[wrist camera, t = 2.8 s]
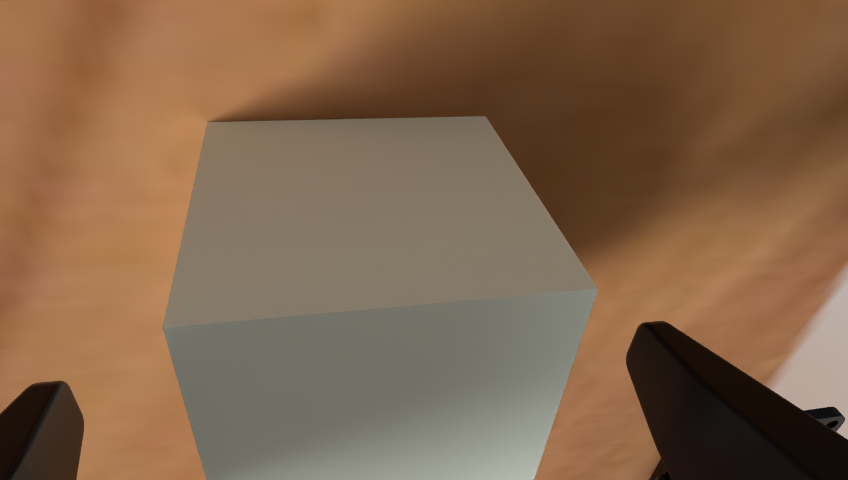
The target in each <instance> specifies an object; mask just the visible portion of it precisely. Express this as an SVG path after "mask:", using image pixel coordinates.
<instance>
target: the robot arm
mask: <svg viewBox="0 0 848 480" xmlns="http://www.w3.org/2000/svg"><path fill="white" fill-rule="evenodd" d="M626 364H627V369H628V372H629V374H630V377H631V380H632V383H633V385H634V388H635V391H636V394H637V396H638V399H639V402H640V405H641V407H642V410H643V413H644V416H645V418H646V421H647V424H648V427H649V429H650V432H651V435H652V437H653V440H654V442H655V445H656V447H657V450H658V452H659V454H660V456H661V458H662V460H661V461H660V463H659V465H658V467H657V469H656V470H655V472H654V474H653V476H652V477H651V479H650V480H848V440H847V439H846V438H844V437H843V436H841V435H840V434H838V433H837V432H836V431H837V430H838V428H840V426H841V425H842V424H843V422H844V421H845V417H843V415H842V414H841V413H840V412H839V411H838V410H837V409H836V408H835V407H827V408H819V409H813V410H805V411H803V410H801V409H800V408H798V407H796V406H795V405H794V404H792V403H790V402H789V401H787V400H786V399H784V398H783V397H781V396H780V395H778V394H777V393H775V392H774V391H772V390H770V389H769V388H767V387H766V386H764V385H763V384H761V383H760V382H758V381H757V380H755V379H753V378H752V377H750V376H749V375H747V374H746V373H744V372H743V371H741V370H740V369H738V368H737V367H735V366H733V365H732V364H730V363H729V362H727V361H726V360H724V359H723V358H721V357H720V356H718V355H717V354H715V353H713V352H712V351H710V350H709V349H707V348H706V347H704V346H703V345H701V344H700V343H698V342H696V341H695V340H693V339H692V338H690V337H689V336H687V335H686V334H684V333H683V332H681V331H680V330H678V329H676V328H675V327H673V326H672V325H670V324H669V323H667V322H664V321H654V322H644V323H642V324H641V325H639V326H638V328H637V330H636V333H635V335H634V337H633V340H632V342H631V345H630V347H629V349H628V352H627V356H626ZM83 433H84V420H83V415H82V413H81V411H80V408H79V406H78V404H77V402H76V400H75V398H74V395H73V393H72V391H71V389H70V387H69V385H68V384H67V383H66V382H64V381H52V382H41V383H35V384H32V385H31V386H29V387H28V388H26V389H25V390H24V391H23V392H22V393H21V394H20V395H19V396H18V397H17V398H16V399H15V400H14V401H13V402H12V403H11V404H10V405H9V406H8V407H7V408H6V409H5V410H4V411H3V412H2V413H1V414H0V480H76V479H77V472H78V465H79V459H80V452H81V446H82V439H83Z"/></svg>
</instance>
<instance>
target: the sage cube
mask: <svg viewBox="0 0 848 480" xmlns="http://www.w3.org/2000/svg"><path fill="white" fill-rule="evenodd" d="M597 291H598V288H597V286H596V284H595V283H594V281H593V280H592V278H591V277H590V275H589V274H588V272H587V271H586V269H585V268H584V266H583V265H582V263H581V261H580V260H579V258H578V257H577V255H576V254H575V252H574V251H573V249H572V248H571V246H570V245H569V243H568V242H567V240H566V239H565V237H564V235H563V234H562V232H561V231H560V229H559V228H558V226H557V225H556V223H555V222H554V220H553V219H552V217H551V216H550V214H549V212H548V211H547V209H546V208H545V206H544V205H543V203H542V202H541V200H540V199H539V197H538V196H537V194H536V193H535V191H534V190H533V188H532V186H531V185H530V183H529V182H528V180H527V179H526V177H525V176H524V174H523V173H522V171H521V170H520V168H519V167H518V165H517V163H516V162H515V160H514V159H513V157H512V156H511V154H510V153H509V151H508V150H507V148H506V147H505V145H504V144H503V142H502V141H501V139H500V137H499V136H498V134H497V133H496V131H495V130H494V128H493V127H492V125H491V124H490V122H489V121H488V119H487V118H486V116H468V117H421V118H374V119H328V120H281V121H234V122H207V126H206V131H205V135H204V140H203V145H202V149H201V154H200V158H199V163H198V168H197V172H196V177H195V181H194V186H193V191H192V195H191V200H190V204H189V209H188V213H187V218H186V223H185V227H184V232H183V236H182V241H181V246H180V250H179V255H178V259H177V264H176V269H175V273H174V278H173V282H172V287H171V292H170V296H169V301H168V305H167V310H166V315H165V319H164V324H163V330H164V334H165V337H166V341H167V344H168V348H169V351H170V355H171V358H172V362H173V365H174V369H175V372H176V376H177V379H178V383H179V386H180V389H181V393H182V396H183V400H184V403H185V407H186V410H187V414H188V417H189V421H190V424H191V428H192V431H193V435H194V438H195V441H196V445H197V448H198V452H199V455H200V459H201V462H202V466H203V469H204V473H205V476H206V480H534V478H535V475H536V472H537V469H538V466H539V463H540V460H541V457H542V454H543V451H544V448H545V445H546V442H547V439H548V436H549V434H550V431H551V428H552V425H553V422H554V419H555V416H556V413H557V410H558V407H559V404H560V401H561V398H562V395H563V392H564V389H565V386H566V383H567V380H568V377H569V374H570V371H571V368H572V365H573V362H574V360H575V357H576V354H577V351H578V348H579V345H580V342H581V339H582V336H583V333H584V330H585V327H586V324H587V321H588V318H589V315H590V312H591V309H592V306H593V303H594V300H595V297H596V294H597Z"/></svg>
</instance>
